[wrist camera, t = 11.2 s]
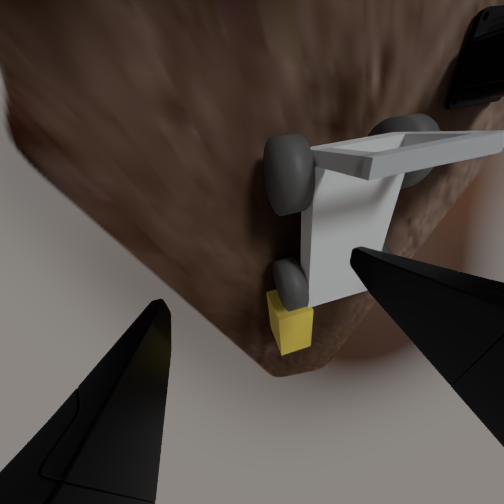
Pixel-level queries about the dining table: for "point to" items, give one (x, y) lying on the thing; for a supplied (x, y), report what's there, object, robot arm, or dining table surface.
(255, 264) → the dining table surface
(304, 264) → the trolley
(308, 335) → the block
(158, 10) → the dining table surface
